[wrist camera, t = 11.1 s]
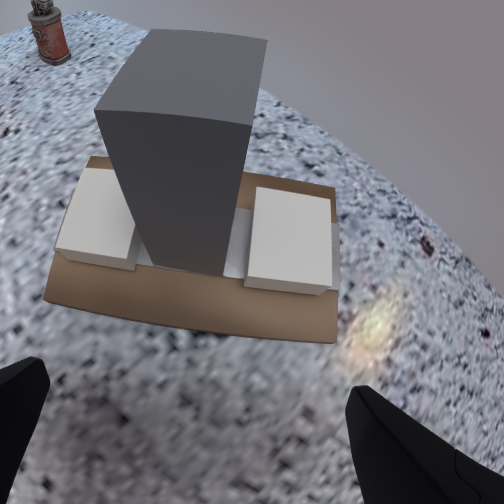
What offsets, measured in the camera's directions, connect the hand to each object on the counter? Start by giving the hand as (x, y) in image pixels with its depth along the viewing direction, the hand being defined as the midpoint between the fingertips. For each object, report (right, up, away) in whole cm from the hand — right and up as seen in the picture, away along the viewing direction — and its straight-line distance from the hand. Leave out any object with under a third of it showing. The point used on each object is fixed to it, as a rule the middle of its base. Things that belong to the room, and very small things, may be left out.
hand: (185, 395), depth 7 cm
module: (-2, +5, +13) cm, 14 cm away
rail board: (-2, +4, +14) cm, 15 cm away
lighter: (-25, +30, +21) cm, 44 cm away
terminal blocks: (-2, +5, +13) cm, 14 cm away
